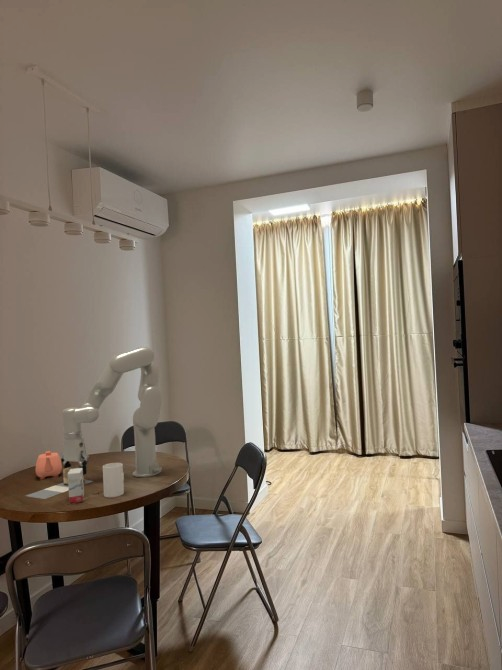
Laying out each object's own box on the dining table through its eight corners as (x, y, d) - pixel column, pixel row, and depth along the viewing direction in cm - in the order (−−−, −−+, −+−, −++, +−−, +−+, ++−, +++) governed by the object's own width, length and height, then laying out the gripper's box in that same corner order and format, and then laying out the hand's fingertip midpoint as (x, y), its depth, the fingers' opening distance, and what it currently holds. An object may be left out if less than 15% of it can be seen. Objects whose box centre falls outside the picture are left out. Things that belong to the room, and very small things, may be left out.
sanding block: (84, 481, 213) (83, 466, 213) (71, 486, 207) (71, 470, 207) (76, 480, 216) (75, 465, 216) (63, 485, 209) (63, 469, 210)
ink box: (82, 502, 187) (80, 472, 187) (68, 504, 186) (67, 474, 186) (84, 496, 195) (83, 467, 196) (71, 497, 194) (70, 468, 194)
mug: (119, 487, 205) (118, 459, 205) (126, 494, 194) (125, 465, 194) (100, 491, 201) (98, 462, 201) (106, 498, 190) (104, 468, 190)
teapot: (36, 473, 236) (35, 449, 236) (62, 470, 240) (61, 446, 240) (34, 484, 217) (33, 457, 217) (62, 480, 222) (61, 454, 222)
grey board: (93, 483, 214) (93, 480, 214) (44, 501, 191) (44, 499, 191) (74, 480, 219) (74, 478, 219) (24, 498, 196) (24, 495, 196)
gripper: (93, 434, 211) (96, 472, 211) (66, 433, 219) (68, 470, 219) (80, 438, 205) (82, 477, 205) (52, 436, 213) (55, 475, 213)
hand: (75, 473), depth 212 cm, fingers open, 9 cm apart
